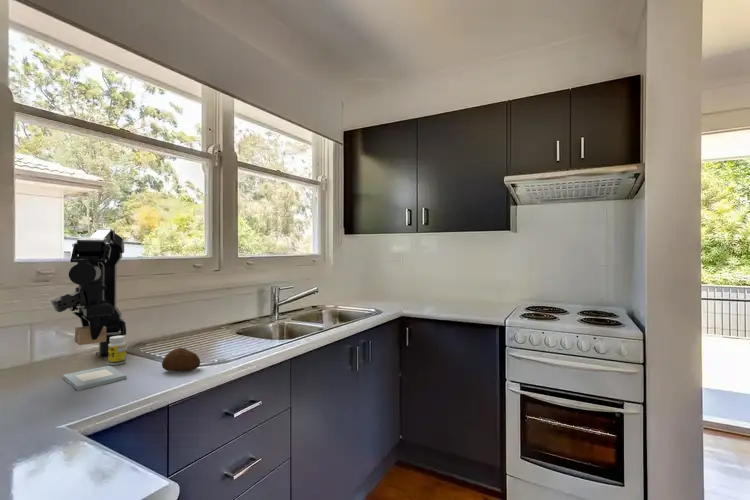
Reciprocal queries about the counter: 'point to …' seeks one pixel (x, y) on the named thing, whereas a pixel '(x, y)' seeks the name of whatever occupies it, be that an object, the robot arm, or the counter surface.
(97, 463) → the counter surface
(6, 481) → the counter surface
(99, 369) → the build board
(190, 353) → the potato
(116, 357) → the supplement bottle
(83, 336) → the walnut block
